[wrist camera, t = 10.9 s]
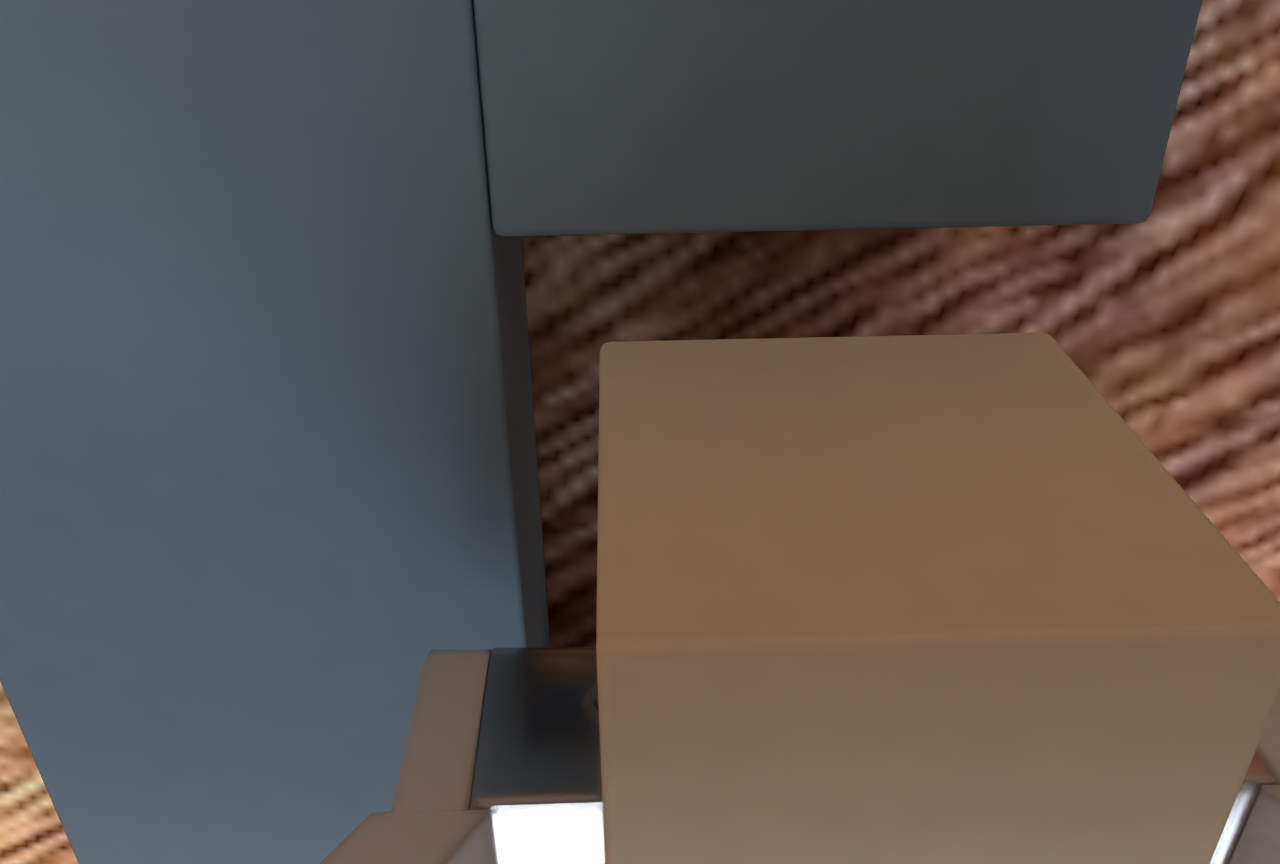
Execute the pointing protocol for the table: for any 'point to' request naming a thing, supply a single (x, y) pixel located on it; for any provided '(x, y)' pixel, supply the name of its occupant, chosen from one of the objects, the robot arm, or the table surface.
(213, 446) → the u-shaped bracket
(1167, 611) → the beige block
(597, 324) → the table surface
